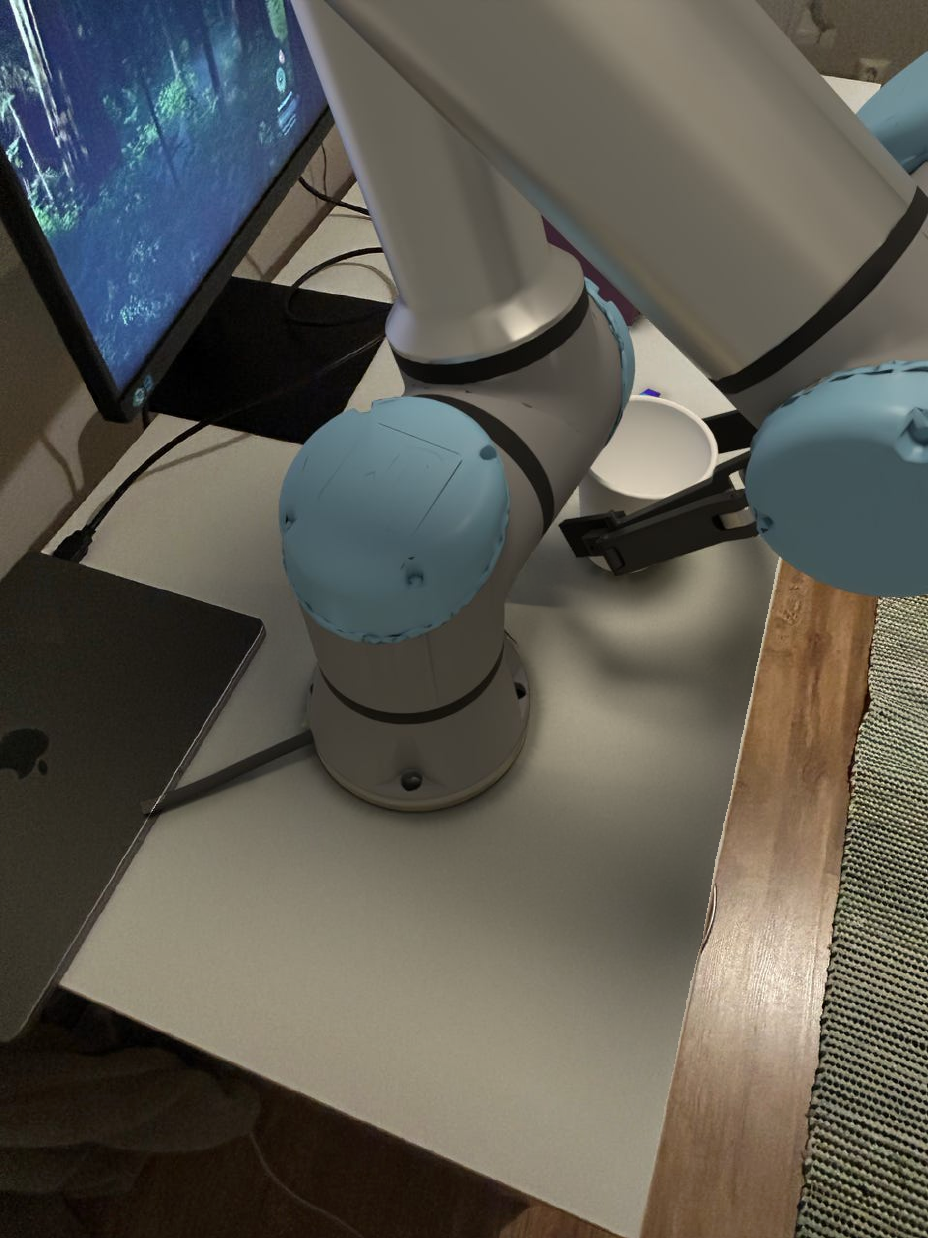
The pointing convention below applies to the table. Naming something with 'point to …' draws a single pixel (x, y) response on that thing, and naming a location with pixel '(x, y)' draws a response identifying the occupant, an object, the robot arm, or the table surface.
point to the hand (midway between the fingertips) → (634, 487)
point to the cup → (648, 459)
